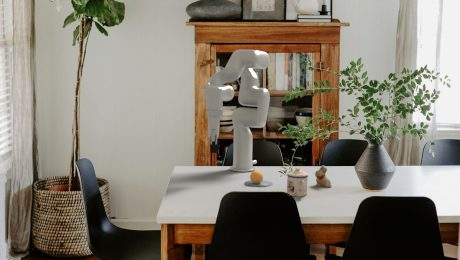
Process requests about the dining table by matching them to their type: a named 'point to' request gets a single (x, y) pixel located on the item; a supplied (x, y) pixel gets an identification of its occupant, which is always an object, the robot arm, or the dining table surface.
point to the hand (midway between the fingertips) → (213, 152)
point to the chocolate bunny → (322, 178)
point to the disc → (262, 184)
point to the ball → (256, 177)
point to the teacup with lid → (297, 182)
